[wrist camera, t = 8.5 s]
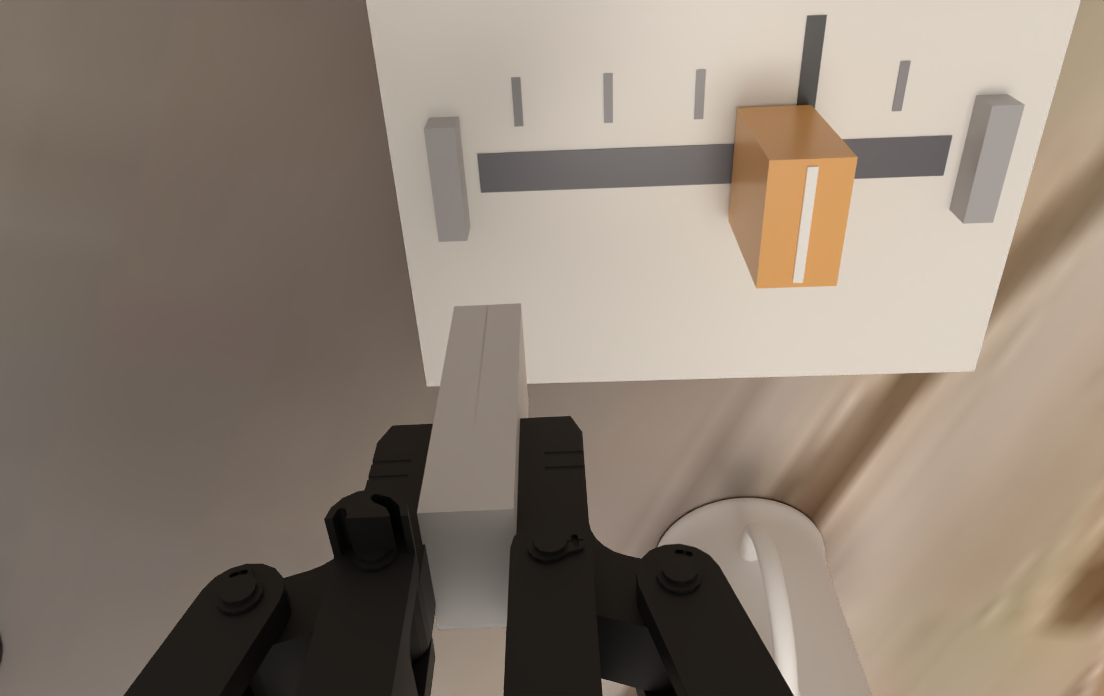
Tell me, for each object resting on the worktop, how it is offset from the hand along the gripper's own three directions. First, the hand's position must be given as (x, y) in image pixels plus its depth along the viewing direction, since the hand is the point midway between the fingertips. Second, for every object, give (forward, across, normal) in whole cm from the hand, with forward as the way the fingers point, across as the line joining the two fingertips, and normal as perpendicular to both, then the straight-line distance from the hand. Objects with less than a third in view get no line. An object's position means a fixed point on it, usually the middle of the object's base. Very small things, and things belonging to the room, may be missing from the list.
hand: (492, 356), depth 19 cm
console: (+13, +7, -1) cm, 15 cm away
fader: (+11, +9, 0) cm, 14 cm away
